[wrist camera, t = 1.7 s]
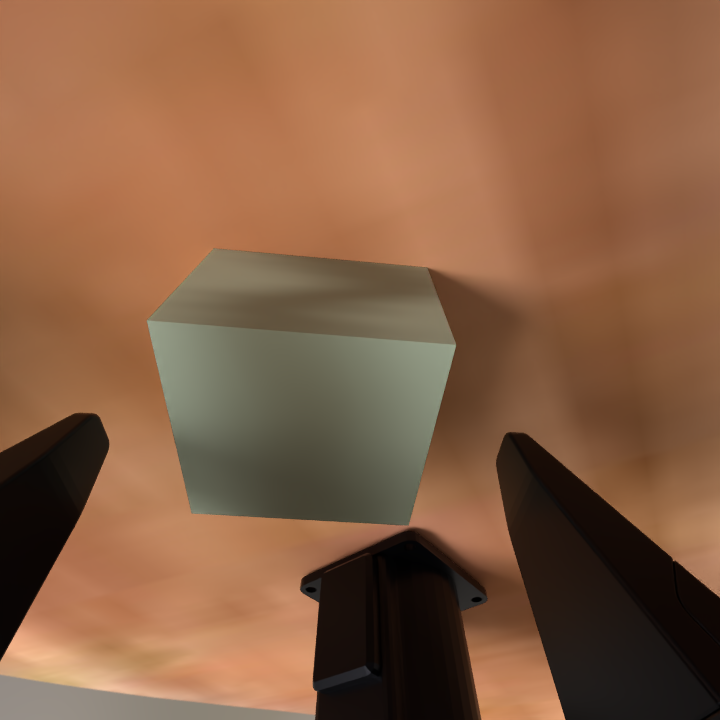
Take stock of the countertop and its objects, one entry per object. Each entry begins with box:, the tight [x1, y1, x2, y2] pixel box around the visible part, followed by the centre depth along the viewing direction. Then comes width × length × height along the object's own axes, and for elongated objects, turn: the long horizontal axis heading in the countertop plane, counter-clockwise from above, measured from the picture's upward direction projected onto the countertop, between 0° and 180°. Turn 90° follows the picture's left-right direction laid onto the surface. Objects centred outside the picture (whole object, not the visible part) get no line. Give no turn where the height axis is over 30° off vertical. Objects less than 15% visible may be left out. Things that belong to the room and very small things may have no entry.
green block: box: [147, 248, 456, 526], centre depth 10 cm, size 6×6×4 cm
